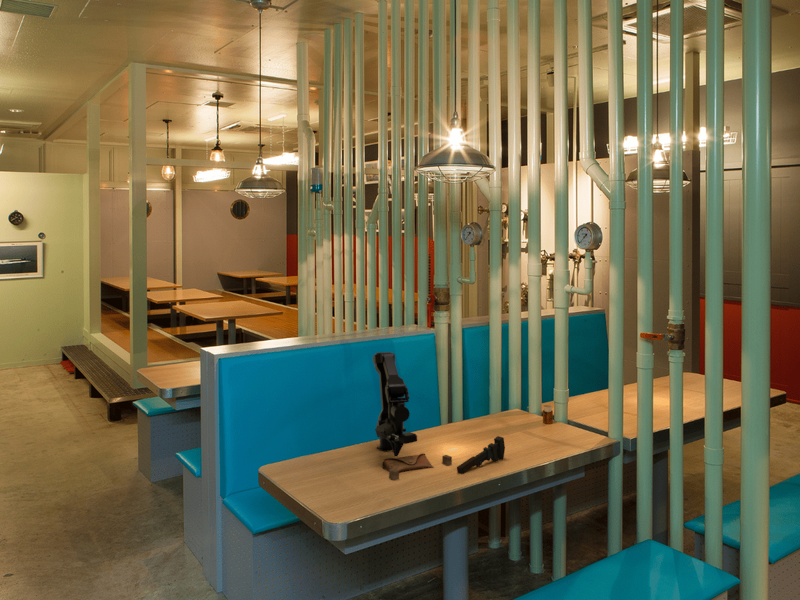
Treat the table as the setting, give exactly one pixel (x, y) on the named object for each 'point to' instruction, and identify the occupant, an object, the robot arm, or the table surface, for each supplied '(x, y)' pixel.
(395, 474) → the block
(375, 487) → the table surface
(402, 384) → the robot arm
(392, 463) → the sunglasses case
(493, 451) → the adjustable wrench
